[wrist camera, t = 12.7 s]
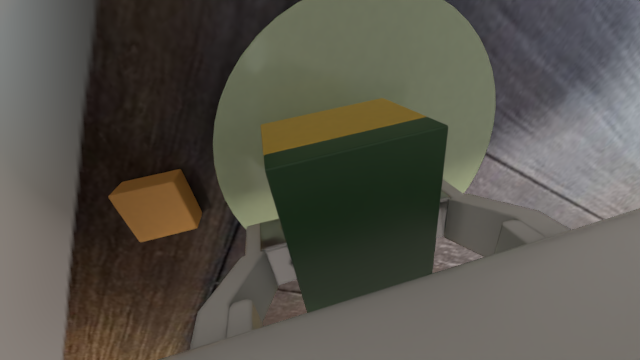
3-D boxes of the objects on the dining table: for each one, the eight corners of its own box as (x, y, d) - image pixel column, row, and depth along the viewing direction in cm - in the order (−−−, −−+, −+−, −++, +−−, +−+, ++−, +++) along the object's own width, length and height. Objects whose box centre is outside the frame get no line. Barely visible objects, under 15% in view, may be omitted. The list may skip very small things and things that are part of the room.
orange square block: (150, 225, 14) (139, 243, 13) (121, 181, 13) (106, 196, 12) (203, 212, 15) (198, 228, 13) (181, 167, 13) (173, 181, 12)
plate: (197, 240, 16) (193, 254, 15) (250, -93, 9) (250, -111, 8) (406, 260, 21) (414, 271, 20) (531, 57, 15) (551, 58, 14)
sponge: (259, 124, 9) (264, 169, 6) (383, 97, 10) (449, 124, 7) (300, 267, 14) (316, 343, 10) (386, 241, 14) (429, 305, 11)
